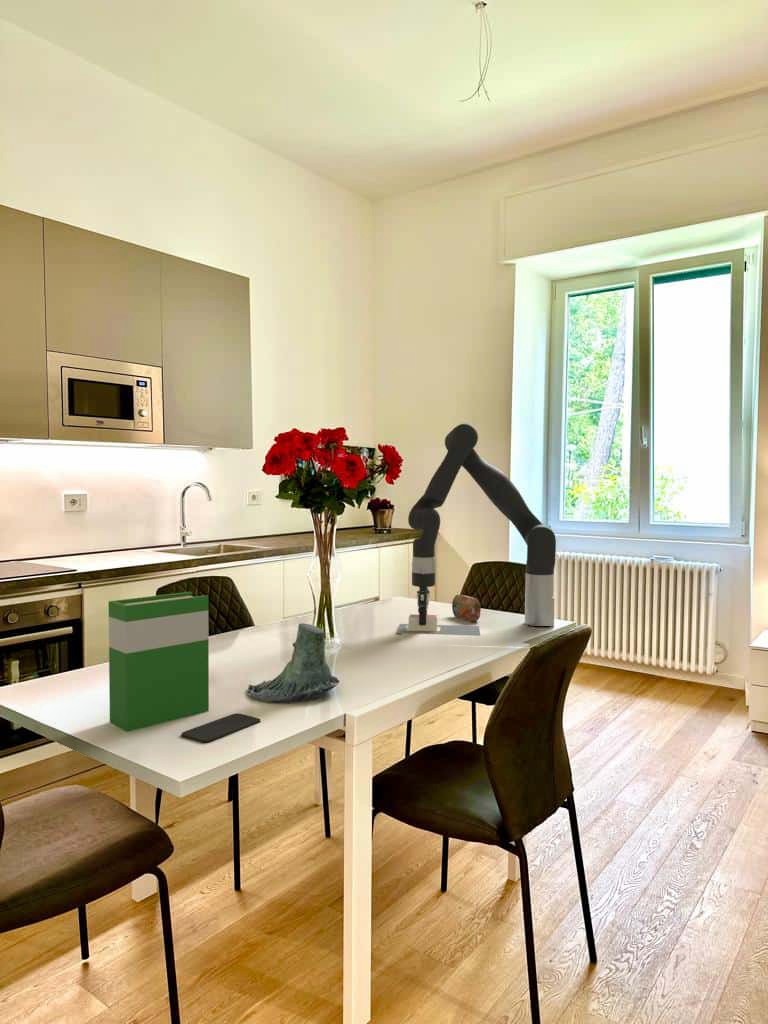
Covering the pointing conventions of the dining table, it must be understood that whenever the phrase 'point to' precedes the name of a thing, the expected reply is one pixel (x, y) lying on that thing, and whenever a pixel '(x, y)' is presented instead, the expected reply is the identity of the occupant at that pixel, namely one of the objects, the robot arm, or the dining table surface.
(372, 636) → the dining table surface
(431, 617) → the card deck
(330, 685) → the tree stump
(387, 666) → the dining table surface
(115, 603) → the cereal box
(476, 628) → the mat
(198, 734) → the phone
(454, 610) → the tin
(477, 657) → the dining table surface
